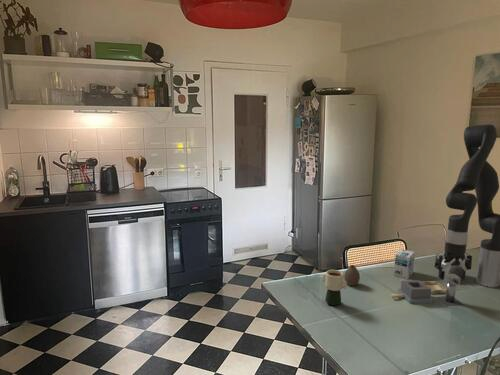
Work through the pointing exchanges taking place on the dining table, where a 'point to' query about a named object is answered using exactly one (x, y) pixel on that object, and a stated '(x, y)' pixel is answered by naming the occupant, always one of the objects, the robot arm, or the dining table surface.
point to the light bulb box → (404, 263)
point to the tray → (435, 287)
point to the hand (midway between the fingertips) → (451, 278)
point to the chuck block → (414, 292)
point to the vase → (352, 276)
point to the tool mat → (456, 303)
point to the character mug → (334, 286)
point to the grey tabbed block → (451, 286)
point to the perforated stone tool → (454, 270)
